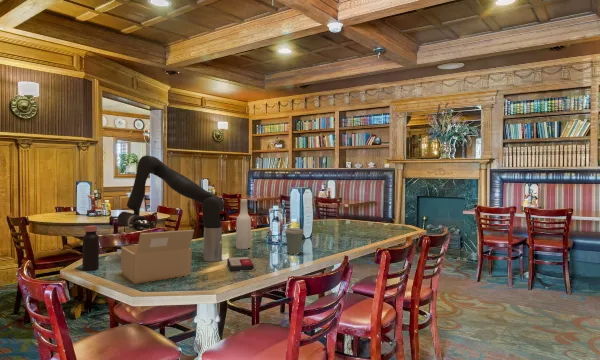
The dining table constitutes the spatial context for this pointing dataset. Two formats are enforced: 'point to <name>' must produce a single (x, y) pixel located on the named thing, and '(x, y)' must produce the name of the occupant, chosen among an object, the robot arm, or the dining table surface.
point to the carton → (155, 264)
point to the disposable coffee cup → (293, 240)
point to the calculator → (240, 264)
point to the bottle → (90, 249)
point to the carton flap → (164, 241)
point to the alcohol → (243, 227)
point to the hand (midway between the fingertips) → (147, 226)
